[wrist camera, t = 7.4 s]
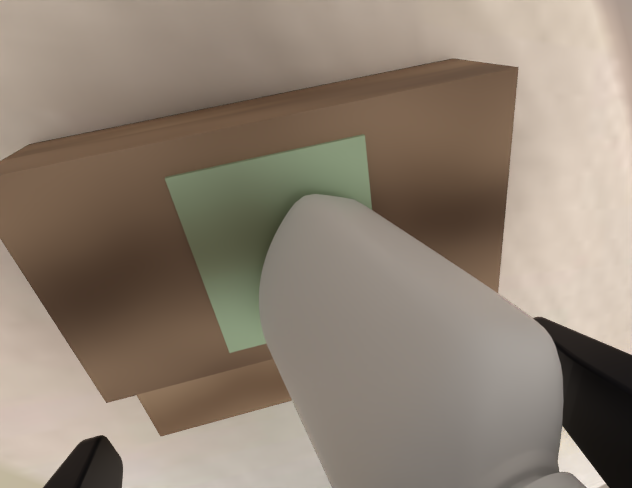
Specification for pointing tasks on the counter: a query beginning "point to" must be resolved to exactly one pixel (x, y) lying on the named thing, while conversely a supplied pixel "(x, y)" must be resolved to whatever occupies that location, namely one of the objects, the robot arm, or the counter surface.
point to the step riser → (244, 220)
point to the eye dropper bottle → (406, 358)
